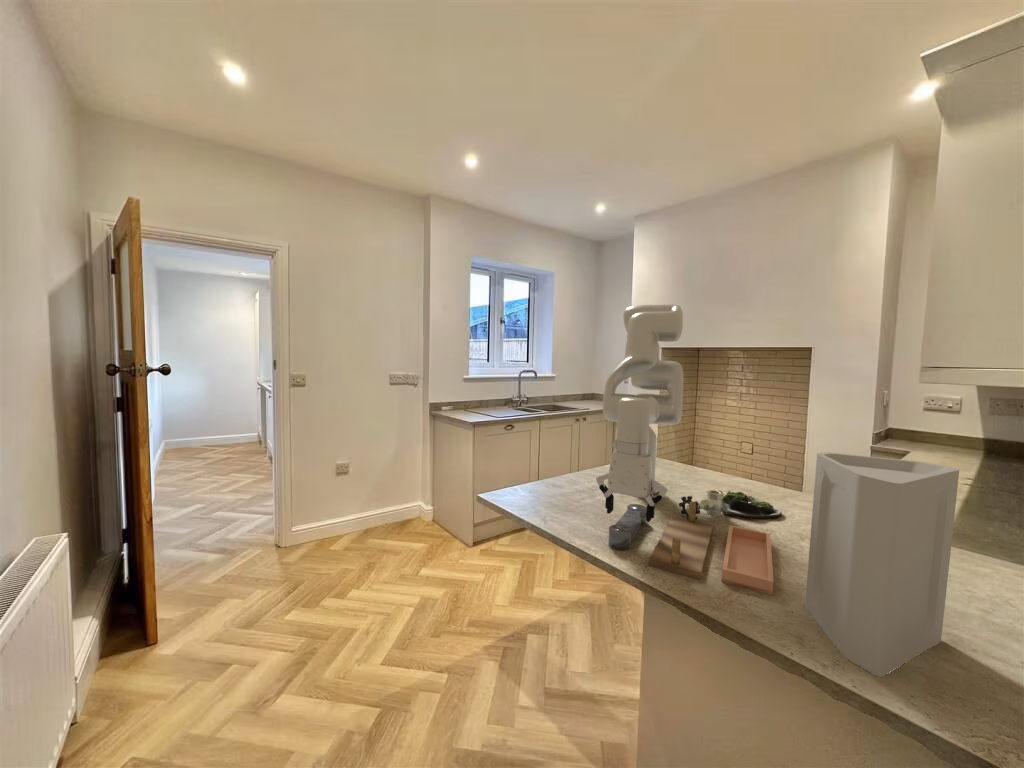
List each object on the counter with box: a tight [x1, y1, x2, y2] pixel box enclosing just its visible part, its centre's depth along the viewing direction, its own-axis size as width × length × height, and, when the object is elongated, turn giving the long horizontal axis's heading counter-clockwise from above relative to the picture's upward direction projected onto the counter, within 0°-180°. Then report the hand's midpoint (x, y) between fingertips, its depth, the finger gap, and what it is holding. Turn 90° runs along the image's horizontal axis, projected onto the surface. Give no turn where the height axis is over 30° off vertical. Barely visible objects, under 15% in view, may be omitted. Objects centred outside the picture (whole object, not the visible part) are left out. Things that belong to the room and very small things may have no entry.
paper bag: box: [804, 451, 960, 678], centre depth 68 cm, size 19×15×28 cm
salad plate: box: [718, 490, 782, 521], centre depth 123 cm, size 19×18×5 cm
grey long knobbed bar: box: [608, 503, 647, 552], centre depth 104 cm, size 21×5×4 cm, turn 150°
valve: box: [678, 489, 723, 521], centre depth 115 cm, size 7×7×12 cm
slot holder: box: [721, 525, 775, 596], centre depth 91 cm, size 25×9×3 cm, turn 150°
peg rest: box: [648, 501, 714, 580], centre depth 97 cm, size 28×10×6 cm, turn 150°
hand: (629, 515), depth 103 cm, fingers open, 9 cm apart
